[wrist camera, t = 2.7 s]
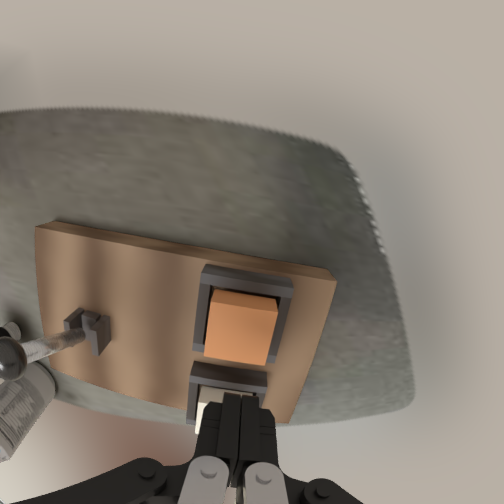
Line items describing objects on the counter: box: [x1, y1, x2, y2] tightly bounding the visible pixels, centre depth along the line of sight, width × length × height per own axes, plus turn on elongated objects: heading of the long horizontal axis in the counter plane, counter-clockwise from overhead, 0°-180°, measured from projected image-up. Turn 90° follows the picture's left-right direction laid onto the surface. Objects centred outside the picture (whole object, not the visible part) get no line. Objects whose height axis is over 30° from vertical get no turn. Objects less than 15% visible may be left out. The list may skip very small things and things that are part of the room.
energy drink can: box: [0, 361, 55, 462], centre depth 20 cm, size 6×6×15 cm
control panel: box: [35, 221, 337, 425], centre depth 22 cm, size 25×15×6 cm, turn 80°
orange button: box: [204, 289, 278, 366], centre depth 18 cm, size 4×4×2 cm
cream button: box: [195, 386, 252, 434], centre depth 20 cm, size 4×4×2 cm
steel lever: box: [0, 328, 86, 381], centre depth 14 cm, size 2×2×10 cm
